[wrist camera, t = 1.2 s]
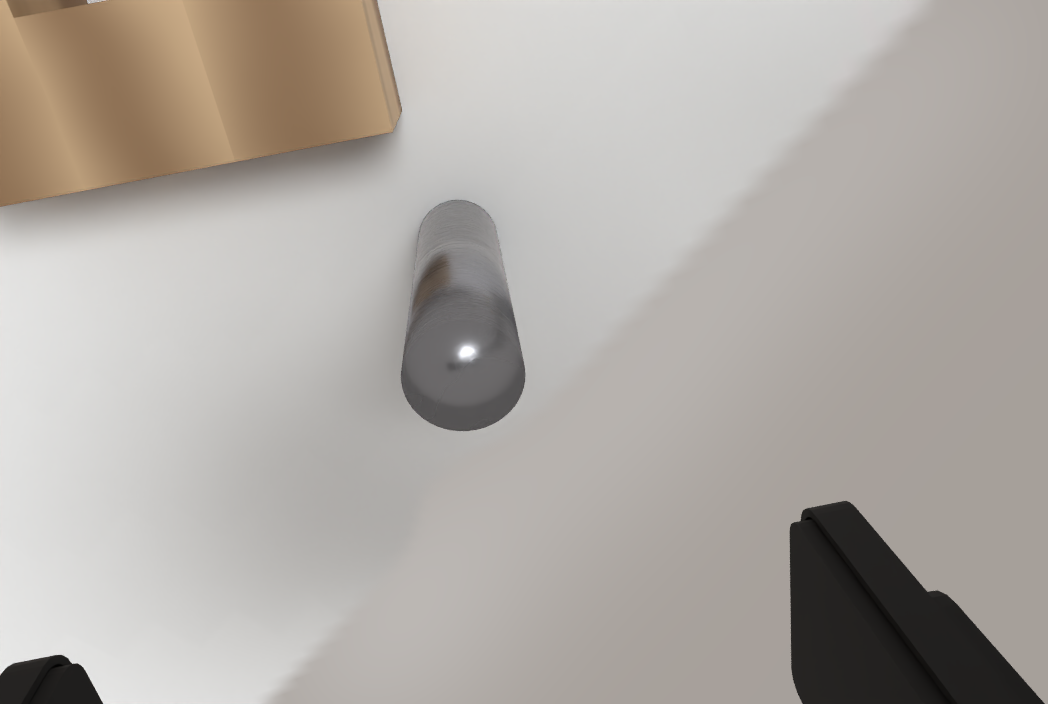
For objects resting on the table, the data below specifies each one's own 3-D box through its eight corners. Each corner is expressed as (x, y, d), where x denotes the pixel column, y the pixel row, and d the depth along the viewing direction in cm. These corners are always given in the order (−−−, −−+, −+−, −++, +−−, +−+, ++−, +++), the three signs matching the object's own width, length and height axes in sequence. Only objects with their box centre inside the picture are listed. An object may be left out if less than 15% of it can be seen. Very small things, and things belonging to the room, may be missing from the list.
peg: (489, 193, 29) (513, 308, 18) (503, 268, 30) (534, 418, 19) (410, 208, 29) (387, 333, 18) (428, 282, 30) (417, 441, 19)
